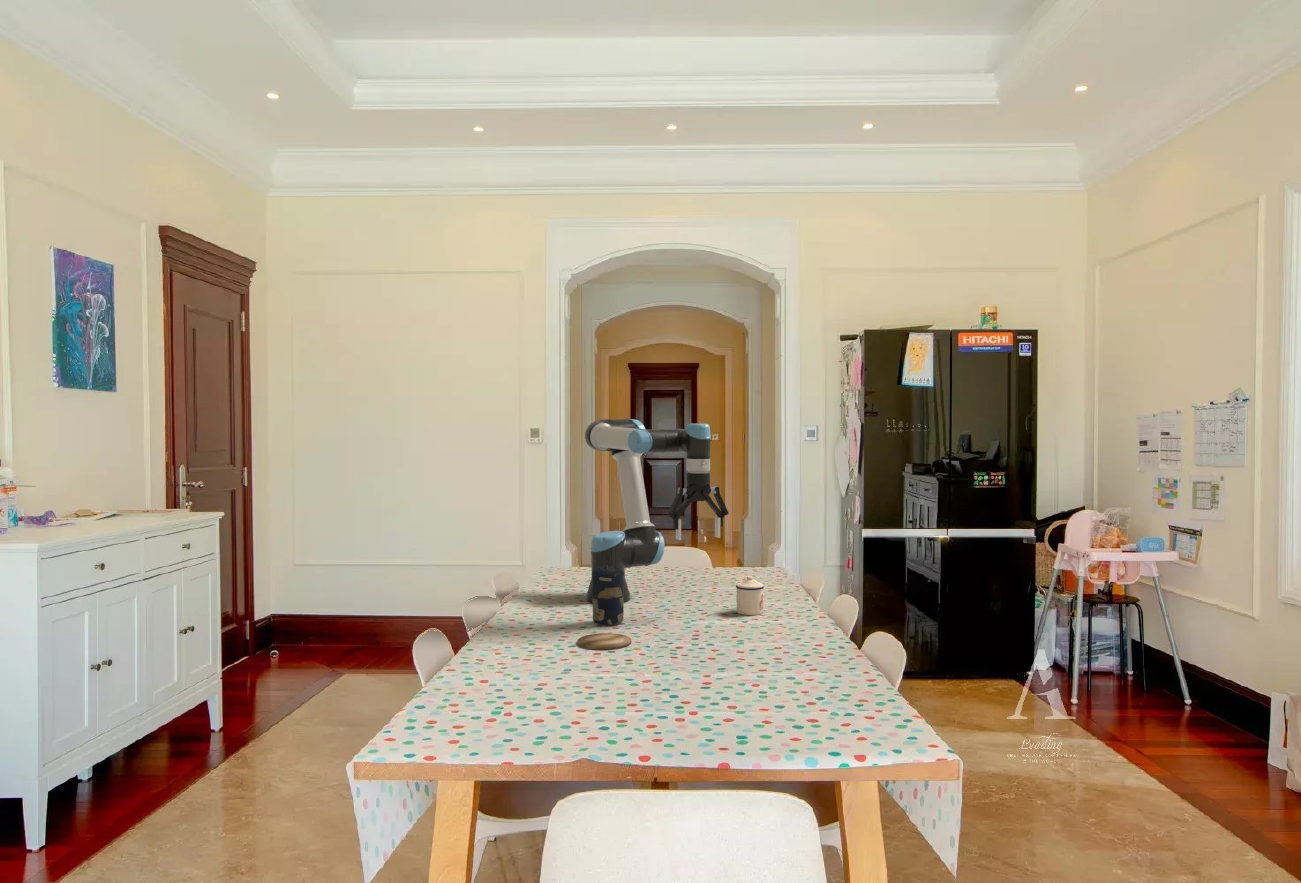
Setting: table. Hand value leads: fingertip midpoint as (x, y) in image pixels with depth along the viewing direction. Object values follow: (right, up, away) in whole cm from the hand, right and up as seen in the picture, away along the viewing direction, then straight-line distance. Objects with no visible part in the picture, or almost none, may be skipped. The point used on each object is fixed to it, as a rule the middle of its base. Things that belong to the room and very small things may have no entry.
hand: (698, 538), depth 267 cm
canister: (-28, -25, -9) cm, 39 cm away
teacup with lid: (+17, -25, +6) cm, 30 cm away
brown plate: (-28, -26, -32) cm, 50 cm away
